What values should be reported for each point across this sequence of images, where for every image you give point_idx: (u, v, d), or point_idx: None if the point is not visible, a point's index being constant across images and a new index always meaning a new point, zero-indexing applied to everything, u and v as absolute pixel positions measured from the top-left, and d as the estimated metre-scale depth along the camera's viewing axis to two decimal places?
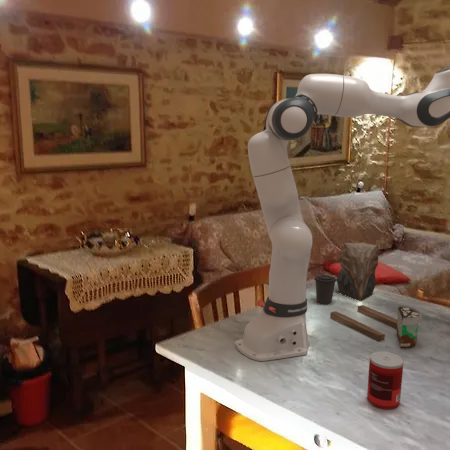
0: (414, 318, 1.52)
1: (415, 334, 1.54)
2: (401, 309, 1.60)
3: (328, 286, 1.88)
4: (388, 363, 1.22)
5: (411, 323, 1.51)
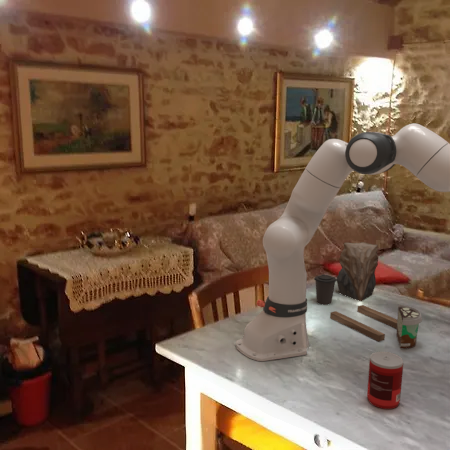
0: (414, 318, 1.52)
1: (415, 334, 1.54)
2: (401, 309, 1.60)
3: (328, 286, 1.88)
4: (388, 363, 1.22)
5: (411, 323, 1.51)
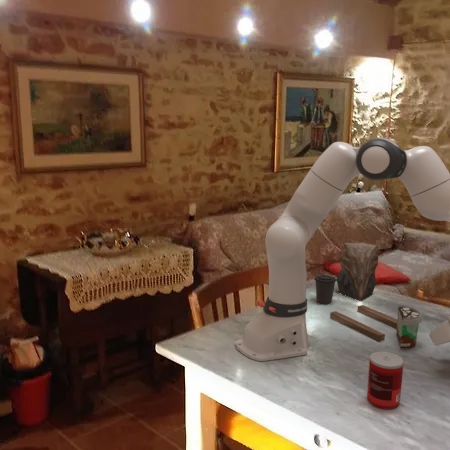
0: (414, 318, 1.52)
1: (415, 334, 1.54)
2: (401, 309, 1.60)
3: (328, 286, 1.88)
4: (388, 363, 1.22)
5: (411, 323, 1.51)
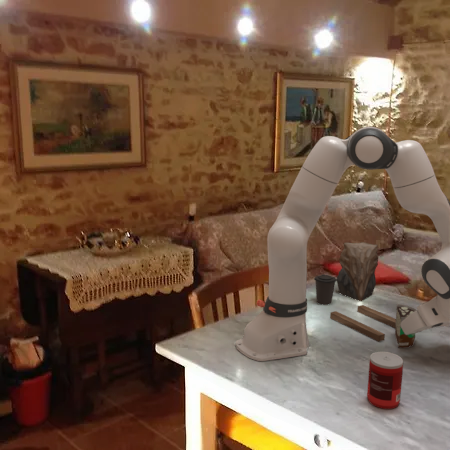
0: None
1: None
2: (399, 308, 1.61)
3: (328, 286, 1.88)
4: (388, 363, 1.22)
5: None
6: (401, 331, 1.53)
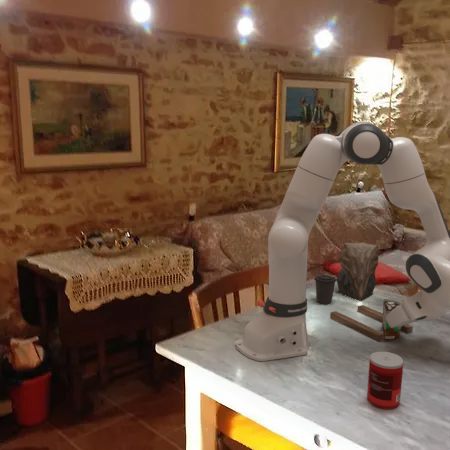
0: None
1: (399, 327, 1.59)
2: (386, 303, 1.65)
3: (328, 286, 1.88)
4: (388, 363, 1.22)
5: None
6: (387, 325, 1.58)
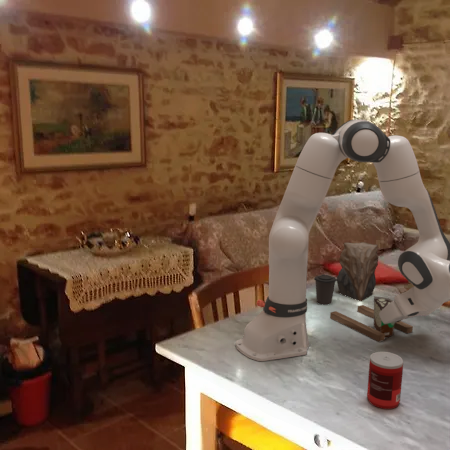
0: None
1: (393, 323, 1.62)
2: (377, 300, 1.68)
3: (328, 286, 1.88)
4: (388, 363, 1.22)
5: None
6: (382, 322, 1.60)
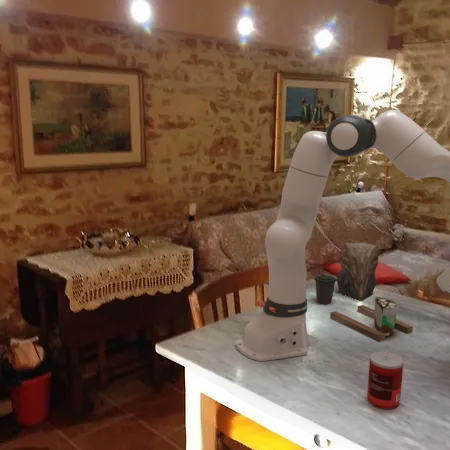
0: (393, 308, 1.59)
1: (393, 324, 1.62)
2: (378, 300, 1.68)
3: (328, 286, 1.88)
4: (388, 363, 1.22)
5: (391, 313, 1.59)
6: (383, 322, 1.60)
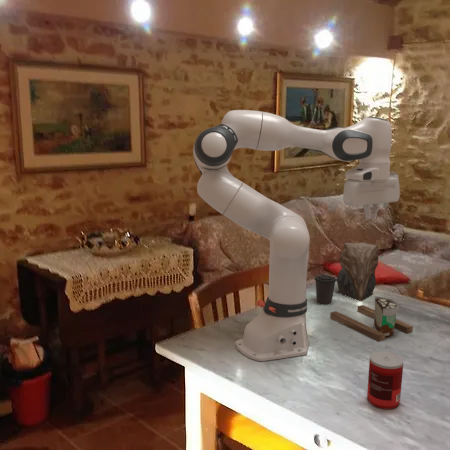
0: (393, 308, 1.59)
1: (393, 324, 1.62)
2: (378, 300, 1.68)
3: (328, 286, 1.88)
4: (388, 363, 1.22)
5: (391, 313, 1.59)
6: (383, 322, 1.60)
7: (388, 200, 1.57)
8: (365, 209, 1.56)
